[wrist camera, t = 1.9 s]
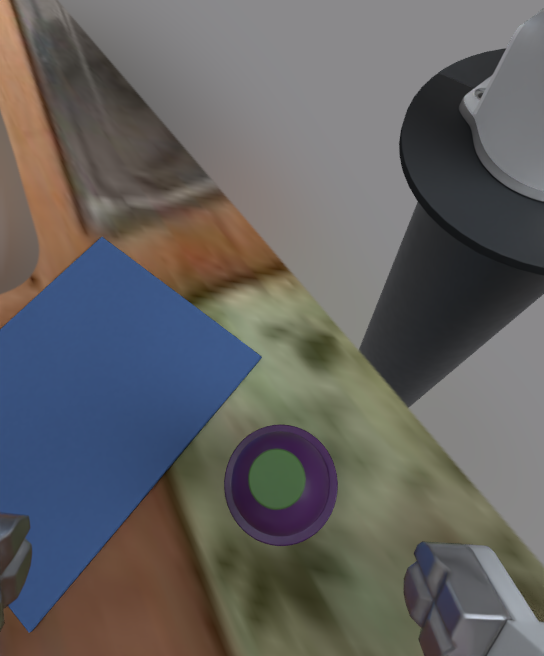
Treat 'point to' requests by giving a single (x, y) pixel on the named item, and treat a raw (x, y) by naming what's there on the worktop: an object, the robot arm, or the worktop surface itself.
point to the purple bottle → (280, 485)
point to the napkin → (100, 407)
